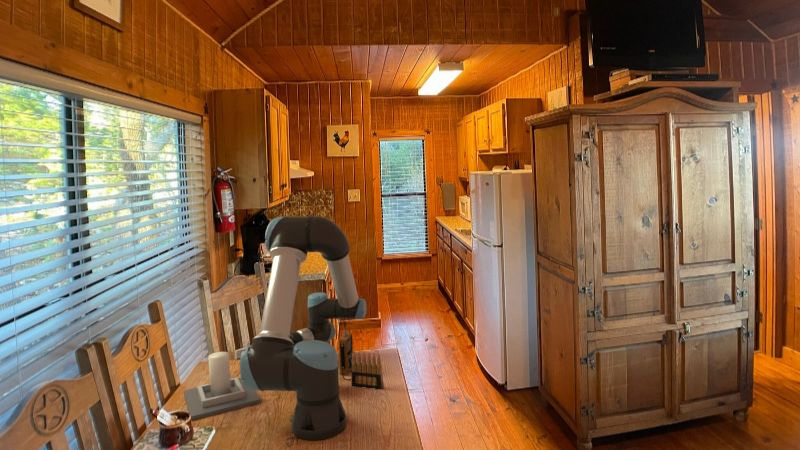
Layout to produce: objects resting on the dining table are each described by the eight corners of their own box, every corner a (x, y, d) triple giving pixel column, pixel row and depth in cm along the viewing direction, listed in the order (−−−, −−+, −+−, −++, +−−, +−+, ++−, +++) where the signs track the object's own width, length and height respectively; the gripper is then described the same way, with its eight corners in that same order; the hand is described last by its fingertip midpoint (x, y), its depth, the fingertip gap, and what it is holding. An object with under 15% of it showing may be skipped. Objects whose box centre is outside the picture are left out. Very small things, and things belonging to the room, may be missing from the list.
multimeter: (364, 381, 160) (362, 324, 158) (336, 379, 162) (333, 323, 160) (375, 364, 174) (373, 311, 172) (349, 363, 176) (347, 310, 174)
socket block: (260, 402, 147) (259, 392, 146) (190, 420, 137) (189, 410, 137) (246, 379, 164) (246, 370, 164) (184, 393, 154) (183, 384, 154)
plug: (232, 395, 149) (230, 356, 148) (212, 400, 146) (209, 360, 145) (229, 388, 154) (226, 350, 153) (209, 393, 152) (207, 354, 150)
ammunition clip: (383, 387, 155) (382, 352, 154) (381, 390, 153) (380, 354, 152) (353, 383, 158) (352, 349, 157) (351, 386, 156) (349, 351, 155)
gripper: (321, 359, 165) (269, 380, 149) (278, 344, 181) (227, 361, 165) (320, 338, 164) (267, 357, 148) (277, 325, 180) (226, 340, 164)
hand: (246, 359), depth 157 cm, fingers open, 13 cm apart
